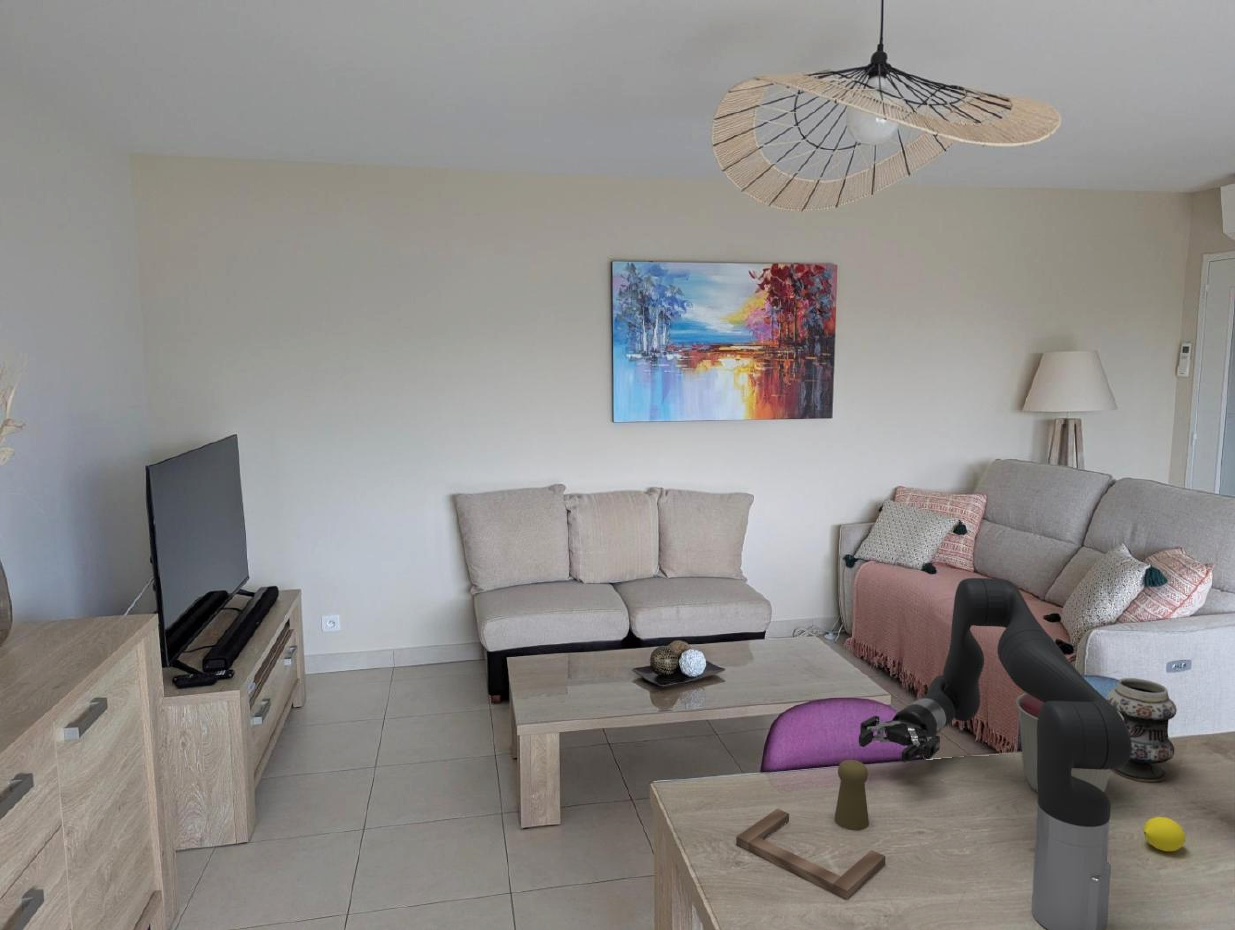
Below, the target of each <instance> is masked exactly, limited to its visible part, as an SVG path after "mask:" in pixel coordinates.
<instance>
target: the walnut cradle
mask: <svg viewBox="0 0 1235 930" xmlns="http://www.w3.org/2000/svg"><path fill="white" fill-rule="evenodd" d="M788 821H789V822H790V813H788V812H786V811H784V810H782V809H780V808H776V809H774V810H773V811H771V812H770V813H769V814H767V815H765V816H764V817H763V818H761V819H760V820H758V821H757V822H755V823H754V824H752V825H751V826H750V827H748V828H746V829H745V830H744V831H742V832H741V833H739V834H738V835H736V836H735V838H736V839H735V840H736V843H735V845H736V846H738V847H740V848H742V849H744V850H746V851H749V852H750V853H752V854H754V855H756V856H758V857H760V858H762V859H764V860H766V861H768V862H771V863H772V864H774V865H776V866H779V867H781V868H782V869H784V870H786V871H788V872H790V873H793V874H794V875H796V876H799V877H800V878H803V879H804V880H807V881H809V882H810V883H812V884H814V885H817V886H818V887H821V888H823V889H824V890H826V891H828V892H831V893H833V894H834V895H836V896H838V897H840V898H842V899H844V900H848V899H850V898H851V897H852V896H853V895H854V894H855V893H856V892H857V891H858V890H859V889H860V888H862V887H863V886H864V885H865V884H866V883H867V882H868V881H869V880H870V879H871V878H873V876H875V875H876V874H877V873H878V872H879V871H880V870H881V869H882V868H883V867H884V866H885V865H886V855H884V854H882V853H879V852H877V851H875V850H873V849H870V851H869V852H867V853H866V854H865V855H863V856H862V858H860V859H859V860H858V861H857V862H856V863H854V864H853V865H852V866H851V867H850V868H849V869H848V870H846V871H845V872H844V873H843V874H842V875H841V876H840V875H838V874H836V873H834V872H832V871H830V870H828V869H826V868H824V867H822V866H819V865H818V864H816V863H813V862H812V861H809V860H807V859H806V858H803V857H801V856H799V855H796V854H794V853H793V852H790V851H789V850H786V849H784V848H783V847H780V846H778V845H776V844H774V843H771V842H770V841H768V840H765V839H766V837H767V836H768V835H769V836H771V835H772V834H773V833H772V832H773V831H775V832H777V831H778V830H779V829H780V827H781V826H782V825H783V824H785V823H786V824H788V823H789V822H788ZM787 822H788V823H787ZM786 824H785V825H786ZM783 826H784V825H783ZM783 826H782V827H783ZM782 827H781V828H782ZM777 829H778V830H777ZM771 833H772V834H771ZM770 834H771V835H770ZM769 836H768V837H769ZM768 837H767V838H768Z"/></svg>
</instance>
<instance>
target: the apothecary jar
mask: <svg viewBox="0 0 1235 930" xmlns="http://www.w3.org/2000/svg"><path fill="white" fill-rule="evenodd" d="M1106 700H1107V701H1108V702H1109V703H1110V704H1111V705H1112V706H1113V707H1114V708H1115V709H1116V710H1117V711H1118V712H1119V713H1120V714H1121V715H1122V716H1123V718H1124V722H1125V724H1126V726H1127V729H1128V731H1129V734H1130V737H1131V743H1132V754H1131V757H1130V759H1129V761H1128V762H1127V764H1125V765H1124V766H1122V767H1120V768H1116V769H1110V771H1112V772H1114V773H1116V774H1117V775H1120V776H1122V777H1124V778H1127V779H1130V780H1133V781H1139V782H1146V783H1158V782H1162V781H1165V779H1166V777H1167V773H1166V772H1165V770H1164V769H1163V768H1161V766H1158V765H1157V764H1162V763H1166V762H1167V761H1170V760H1171V759H1172V758H1173V757H1174V755H1175V747H1174V744H1173V743H1172V741H1171V740H1170V739H1169V737H1168V735H1169V730H1168V729H1169V721H1170V720H1172V719H1173V718H1174V717H1175V716H1176V714H1177V712H1178V710H1177V705H1176V704H1175V702H1174V701H1173V700H1172V699H1171V698H1170V696H1169V693H1168V688H1167V687H1166V686H1164V685H1162V684H1161V683H1158V682H1155V681H1152V680H1147V679H1143V678H1135V677H1123V678H1120V679H1119V680H1118V681H1117V685H1116V687H1115V688H1113V689H1112V690H1110V691H1109V692H1108V694H1107V696H1106Z"/></svg>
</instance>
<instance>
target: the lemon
mask: <svg viewBox="0 0 1235 930" xmlns="http://www.w3.org/2000/svg"><path fill="white" fill-rule="evenodd" d="M1143 836H1144V838H1145V840H1147V842H1148V843H1149V845H1151V846H1153V847H1154V848H1155V849H1156V850H1159V851H1163V852H1167V853H1168V852H1176V851H1177V850H1180V849H1182V847H1183V846H1184V845H1185V843H1186V833H1185V832H1184V830H1183V828H1182V826H1181V825H1180V824H1179V823H1178V822H1177V821H1175V820H1173V819H1170V818H1169V817H1167V816H1166V817H1164V816H1155V817H1151V818H1149V819H1147V821H1146V822H1145V823H1144V826H1143Z"/></svg>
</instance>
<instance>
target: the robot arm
mask: <svg viewBox="0 0 1235 930" xmlns="http://www.w3.org/2000/svg"><path fill="white" fill-rule="evenodd" d="M973 626H975V627H996V628H997V627H998V628H1005V629H1004V630H1003V632H1002V633H1001V634H1000V635H1001V636H999V639H998V644H997V649H996V650H997V656H998V659H999V662H1000V663H1001V665H1002V667H1003V669H1004V670H1005V671H1006V673H1007V675H1008V676H1009V678H1010V679H1011V681H1012V682H1013V683H1014V684H1015V685H1016V686H1017V687H1018V688H1019V689H1020V690H1021V691H1023V692H1025V693H1028V694H1029V695H1031V696H1033V697H1034V698H1036V699H1038V700H1040V701H1042V702H1044V704H1043V705H1042V706H1041V708H1040V710H1039V714H1038V720H1037V785H1038V792H1037V801H1036V802H1037V804H1036V805H1037V807H1036V823H1035V837H1034V838H1035V840H1034V841H1035V843H1034V855H1033V857H1034V860H1033V873H1032V874H1033V876H1032V878H1033V879H1032V894H1031V913H1032V916H1033V918H1034V919H1035V920H1036V921H1037V923H1039V924H1040V925H1041V926H1042V927H1044V928H1045V929H1047V930H1105V929H1106V926H1107V925H1108V914H1109V913H1108V911H1109V901H1110V900H1109V899H1110V897H1109V896H1110V885H1111V871H1112V867H1111V866H1112V865H1111V863H1110V862H1108V853H1109V836H1110V833H1109V832H1110V823H1111V822H1110V820H1111V806H1112V805H1111V800H1110V798H1109V796H1108V794H1106V793H1105V792H1103V791H1102V790H1100V789H1099V788H1098V787H1096V786H1094V785H1092V784H1090V783H1088V782H1086V781H1084V780H1081V779H1078V778H1076V777H1074V776H1071V771H1072V768H1077V769H1098V770H1107V769H1110V770H1111V769H1116V768H1120V767H1122V766H1124V765H1125V764H1127V762H1128V761H1129V759H1130V757H1131V754H1132V743H1131V737H1130V734H1129V731H1128V729H1127V726H1126V724H1125V722H1124V720H1123V719H1122V717H1121V716H1120V714H1119V713H1118V711H1117V710H1116V709H1115V708H1114V707H1113V706H1112V705H1111V704H1110V703H1109V702H1108V701H1107V698H1105V697H1104V696H1103V695H1102V694H1101V693H1100V692H1099V691H1098V690H1097V689H1095V688H1094V687H1093V686H1092V684H1090V683H1089V682H1088V681H1087V680H1086V679H1085V678H1084V676H1083V675H1082V674H1081V673H1080V672H1079V670H1078V669H1077V668H1076V667H1074V665H1073V664H1072V663H1071V662H1070V660H1069V659H1068V658H1067V657H1066V655H1065V653H1064V652H1063V651H1062V649H1061V648H1060V647H1059V646H1058V644H1057V643H1056V642H1055V641H1054V639H1053V638H1052V637H1051V636H1050V635H1049V634H1048V633H1047V631H1046V630H1045V629H1044V628H1043V626H1042V625H1041V623H1040V622H1039V621H1038V620H1037V618H1036V617H1035V616H1034V613H1032V611H1031V609H1030V607H1029V606H1028V604H1027V601H1026V600H1025V598H1024V596H1023V594H1022V593H1021V591H1020V589H1019V588H1018V587H1017V585H1016V584H1015V583H1013V582H1012V581H1011V580H1008V579H1004V578H993V577H990V578H985V577H984V578H983V577H970V578H964V579H962V580H961V581H960V582H959V583H958V584H957V587H956V590H955V594H954V599H953V608H952V618H951V629H950V630H951V632H950V633H951V634H950V645H949V649H948V653H947V657H946V660H945V663H944V667H943V670H942V674H940V675H938V676H936V677H934V678H933V680H932V681H931V683H930V684H929V687H928V690H927V693H926V694H925V695H924V696H922V697H921V698H919V699H917V700H915V701H912V702H911V703H909V704H908V705H907V706H906V707H904V708H902V709H901V710H899V711H898V712H897V713H896V714H895V715H894V717H893V718H892V720H889V721H888V720H887V721H885V722H884V721H883V720H882V721H881V720H880V716H878V715H873V716H871V717H870V718H868V719H866V720H864V721H862V722H861V723H860V727H859V728H860V729H859V731H860V732H859V735H858V744H859V747H862V748H865V747H867V746H868V745H869V744H871V743H872V742H875V741H879V742H880V743H895V744H898V745H900V746H903V747H905V748H904V749H902V751H901V757H900V758H901V759H900V760H901V762H903V763H907V762H911V761H912V760H914V759H915V758H920V756H922V757H923V759H925V760H930V759H931V758H932V757H934V756H935V755H936V753H937V752H939V750H940V747H941V746H940V745H941V743H940V742H941V737H940V736H939V734H940V733H941V732H942V730H943V729H944V728H945V727H947V726H948V725H949V724H950V723H951V722H952V721H954V719H955V720H957V721H960V722H968V721H970V720H972V719H973V718H975V716H976V715H977V713H978V711H979V709H980V705H981V694H980V693H981V692H980V686H979V685H980V684H979V683H980V682H979V680H980V678H981V675H982V671H983V669H984V666H985V656H984V652H983V649H982V647H981V645H980V644H979V642H978V641H977V639H976V638H975V636H974V635H973V632H972V631H971V628H972V627H973ZM875 732H877V734H876V735H874V733H875ZM884 733H885V734H884ZM884 735H885V736H884Z"/></svg>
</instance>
